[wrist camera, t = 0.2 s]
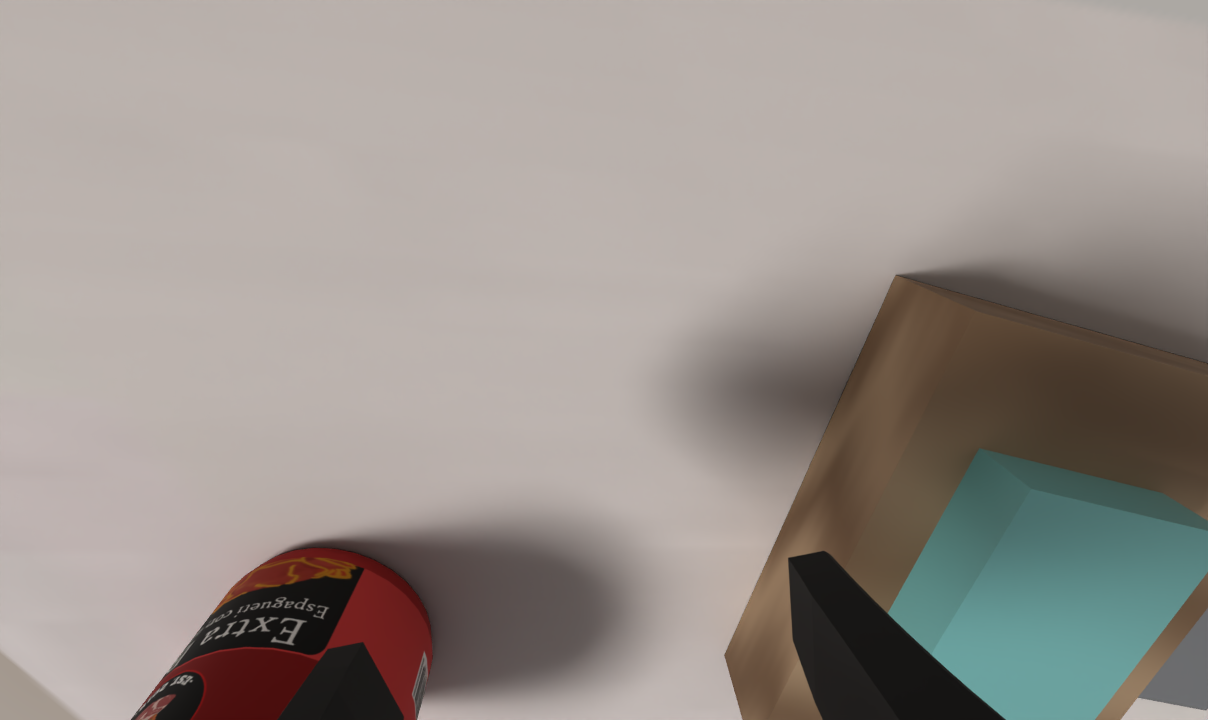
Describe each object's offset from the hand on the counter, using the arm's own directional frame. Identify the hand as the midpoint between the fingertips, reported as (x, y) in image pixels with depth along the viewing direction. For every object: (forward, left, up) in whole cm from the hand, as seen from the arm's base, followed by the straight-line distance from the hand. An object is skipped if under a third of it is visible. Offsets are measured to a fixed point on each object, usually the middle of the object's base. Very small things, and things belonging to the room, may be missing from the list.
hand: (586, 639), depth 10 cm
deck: (-2, -15, -10) cm, 18 cm away
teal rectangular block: (-2, -14, -6) cm, 15 cm away
